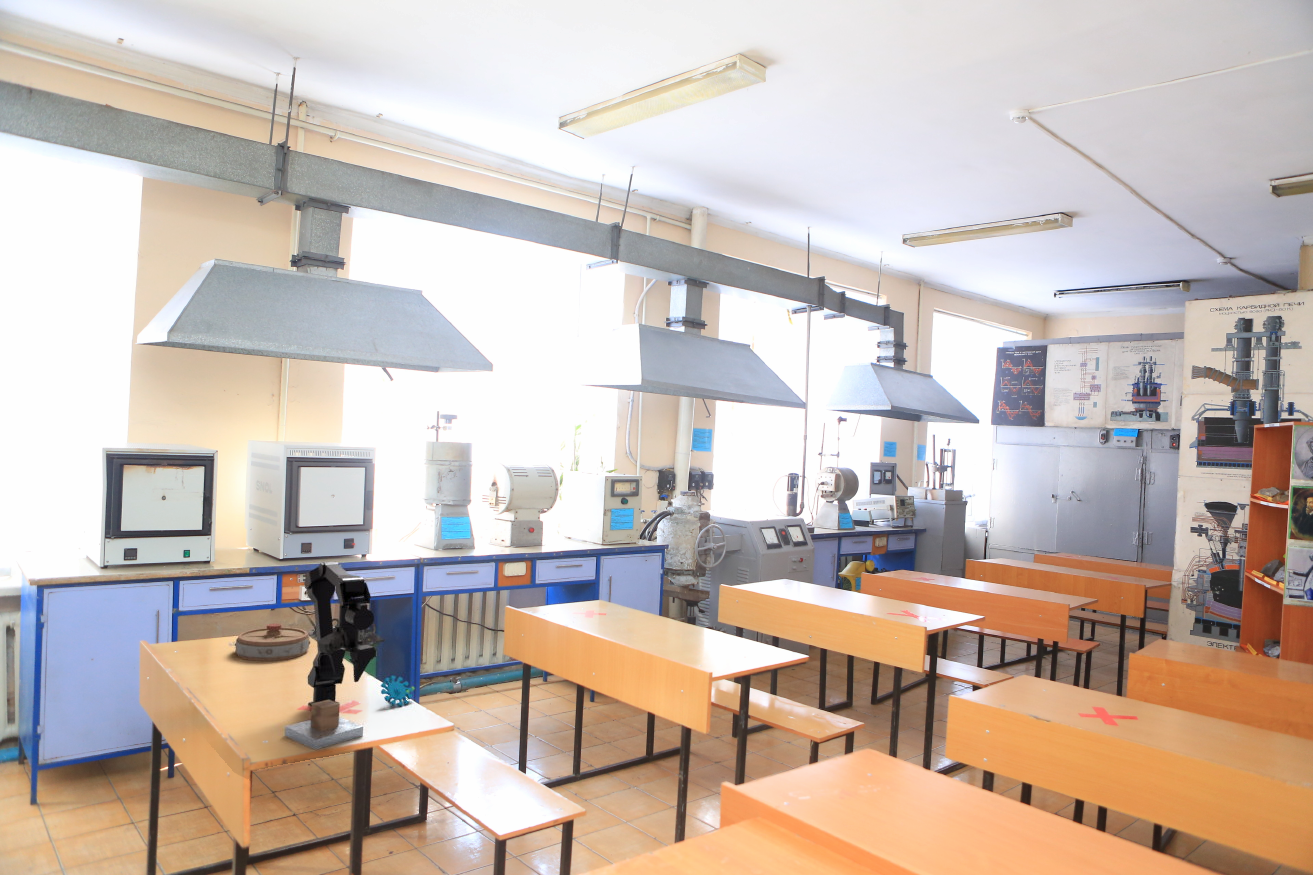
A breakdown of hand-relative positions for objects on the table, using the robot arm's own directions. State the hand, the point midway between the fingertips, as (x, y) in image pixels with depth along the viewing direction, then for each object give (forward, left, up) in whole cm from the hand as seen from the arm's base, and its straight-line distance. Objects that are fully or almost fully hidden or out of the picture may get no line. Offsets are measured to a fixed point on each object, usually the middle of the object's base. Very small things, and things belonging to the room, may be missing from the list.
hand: (346, 678), depth 235 cm
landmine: (-79, +24, -12) cm, 84 cm away
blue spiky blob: (-3, +20, -12) cm, 24 cm away
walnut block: (+6, -10, -10) cm, 15 cm away
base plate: (+6, -10, -12) cm, 17 cm away
